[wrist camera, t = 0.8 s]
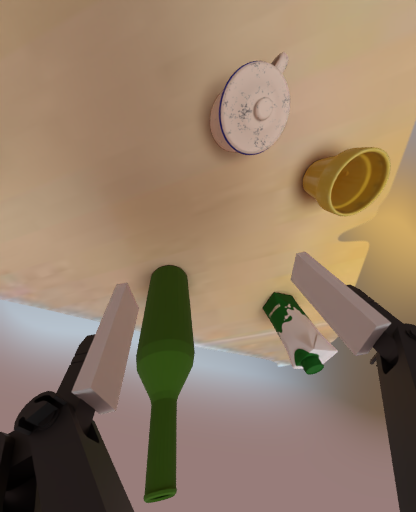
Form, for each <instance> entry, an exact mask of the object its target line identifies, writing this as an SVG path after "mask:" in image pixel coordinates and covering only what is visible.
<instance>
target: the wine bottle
mask: <svg viewBox="0 0 416 512" xmlns="http://www.w3.org/2000/svg"><path fill="white" fill-rule="evenodd" d="M193 360H194V341H193V331H192V320H191V310H190V299H189V290H188V279H187V275H186V274H185V272H184V271H183V270H182V269H180V268H179V267H176V266H170V265H167V266H163V267H160V268H158V269H157V270H156V271H155V272H154V273H153V274H152V276H151V280H150V285H149V291H148V296H147V301H146V307H145V312H144V317H143V323H142V328H141V334H140V339H139V344H138V350H137V355H136V362H137V372H138V374H139V376H140V378H141V380H142V383H143V384H144V387H145V389H146V391H147V393H148V395H149V398H150V400H151V405H152V406H151V419H150V432H149V446H148V459H147V472H146V484H145V495H144V501H145V502H146V503H151V502H157V501H161V500H165V499H168V498H171V497H173V496H174V495H175V494H176V491H177V489H176V411H177V410H176V409H177V408H176V407H177V399H178V395H179V393H180V391H181V389H182V387H183V385H184V383H185V381H186V379H187V377H188V374H189V372H190V370H191V368H192V366H193Z"/></svg>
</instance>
